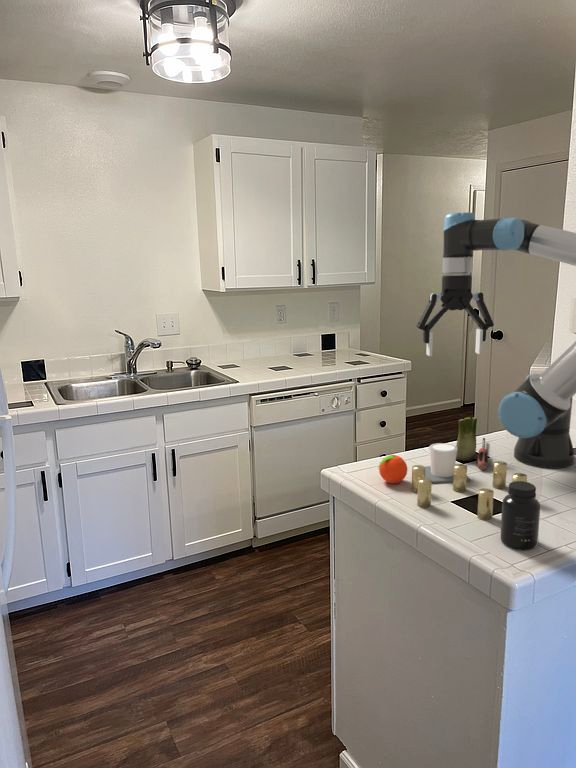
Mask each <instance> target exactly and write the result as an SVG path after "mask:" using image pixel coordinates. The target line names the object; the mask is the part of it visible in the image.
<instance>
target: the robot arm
mask: <svg viewBox="0 0 576 768" xmlns="http://www.w3.org/2000/svg"><path fill="white" fill-rule="evenodd" d="M443 224H444V225H443V231H442V233H443V247H442V248H443V254H442V273H443V274H444V275H443V276H441V293H440V294H437V293H433V292H431V293H429V298H428V302H427V304H426V306H425V308H424V310H423V311H422V314H421V316H420V318H419V320H418V322H417V324H416V328H417V329H419V330H421V331H422V332H423V334H422V336H423V338H422V339H423V340H422V341H423V343H424V344H426V349H425V350H426V355H425V356H428V357H433V343H434V342H433V341H434V337H433V336H434V332H433V331H432V330H431V329H433V327H434V326H436V324H437V323H438V322H439V321H440V319H441V318H442V317H443V316H444V314H445V313H447V312H448V311H456V310H458V311H463V310H464V311H466V313H467V314H468V316H469V317H470V318H471V319H472V320H473V321H474V323H475V324H476V325H477V326H478V328H476V329H475V354H478V355H482V354H483V342H486V341H487V331H488V329H489V328H493V327H494V326H495V324H494V321H493V319H492V317H491V314H490V312H489V310H488V307H487V305H486V303H485V300H484V293H483V292H482V291H476V292H474V293H472V285H473V284H472V283H473V276H472V275H471V274H472V272H473V267H474V266H473V261H474V251H477V252H478V251H503V252H505V251H510V250H512V251H517V252H521V253H525V254H529V255H533V256H537V257H541V258H544V259H549V260H553V261H555V262H560V263H563V264H566V265H570V266H573V267H574V266H575V267H576V232H574V231H568V230H566V229H565V230H564V229H560V228H555V227H552V226H547V225H543V224H538V223H534V222H531V221H529V220H525V219H520V218H518V217H503V218H502V217H501V218H492V219H490V218H489V219H476V216H475V214H474V213H473V212H466V211H465V212H452V213H448V214H446V215H445V217H444V223H443ZM472 299H473V300H474V301H475V303H476V305H477V308H478V311H479V312H480V314H481V316H482V318H481V317H480V316H479V314H478V313H477V311H476V310H475V309H474V307H473V306H472V305H471V304H470V303H471V301H472ZM439 300H440V301H441V303H442V304H441V305H440V306H439V307H438V309H437V310H436V311H435V312H434V314H433V315H432V316H431V314H432V312H433V310H434V308H435V306H436V304H437V303H438V302H439ZM430 316H431V317H430ZM429 318H430V319H429ZM575 395H576V340H575V341H574V342H573V343H572V344H571V345H570V346H569V347H568V348H567V349H566V350H565V351H564V352H563V353H562V354H561V355H560V356H559V357H557V359H556V360H554V361H553V362H552V363H551V365H549V366H548V367H547V368H546V369H545V370H544V371H543V372H542V373H532V374H528V375H526V378H525V381H523V382H522V383H521V384H520V385H519V387H517V389H515V390H514V391H512V392H510V393H507V394H506V395H505V396H504V397H503V398H502V400H501V401H500V403H499V404H498V405H499V406H498V410H497V411H498V419H499V422H500V424H501V425H502V427H503V428H504V430H506V431H507V432H508V433H509V434H511V435H513V436H514V437H516V438H518V439H517V441H516V443H515V446H514V449H513V456H514V458H515V459H516V460H517V461H518V462H520V463H523V464H526V465H530V466H533V467H539V468H549V469H553V468H554V469H561V468H567V467H571V466H572V465H573V464H574V463H575V457H576V454H575V450H574V446H573V442H572V439H571V434H570V429H571V421H572V420H571V419H572V407H573V397H574V396H575Z"/></svg>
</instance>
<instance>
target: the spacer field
mask: <svg viewBox="0 0 576 768" xmlns="http://www.w3.org/2000/svg"><path fill="white" fill-rule="evenodd" d="M425 467H426V466H424V465H419V464H415V465H412V468H411V492H412V493H414V494H416V495H417V498H416V499H417V502H416V503H417V504H416V505H417V507H418V508H421V509H429V508H430V507H432V485H433V484H432V480H431V479H428V478H425ZM492 471H493V472H492V485H491V486H492V488H493V489H497V490H504V489H506V486H507V485H506V484H507V473H508V472H507V471H508V462H506V461H502V460H497V461H496V460H494V462H493V470H492ZM467 474H468V465H467V464H464V463H455V465H454V476H453V482H452V484H453V485H452V490H453V491H454V492H456V493H466V491H467V482H466V479H467V476H468V475H467ZM511 481H512V482H515V481H523V482H528V475H527V474H525V473H522V472H521V473H520V472H515V473H512V480H511ZM493 489H490V488H480V489H478V496H477V497H478V502H477V518H478V519H479V520H482V521H491V520H492V519H493V511H494V510H493V509H494V494H495V493H494V490H493Z"/></svg>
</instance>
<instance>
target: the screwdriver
mask: <svg viewBox="0 0 576 768" xmlns="http://www.w3.org/2000/svg"><path fill="white" fill-rule="evenodd" d="M481 444H482V445H481V448H479V449H478V452H477V453H478V456H477V459H476V464H477V467H478V469H480V470H482V471H483V470H486V469H487V467H488V464H489V456H488V454H489V452H488V449H487V448H486V437H483V438H482V443H481Z"/></svg>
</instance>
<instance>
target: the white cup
mask: <svg viewBox="0 0 576 768" xmlns="http://www.w3.org/2000/svg"><path fill="white" fill-rule="evenodd" d="M456 455H457V447H456V445H454V444H451V443H447V442H445V443H444V442H439V443H438V442H436V443H432V444H430V445H429V459H430V466H431V473H432V474H433V475H435V476H439V477H450V476H452V475H454V465H455V464H456V461H457V457H456Z"/></svg>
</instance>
